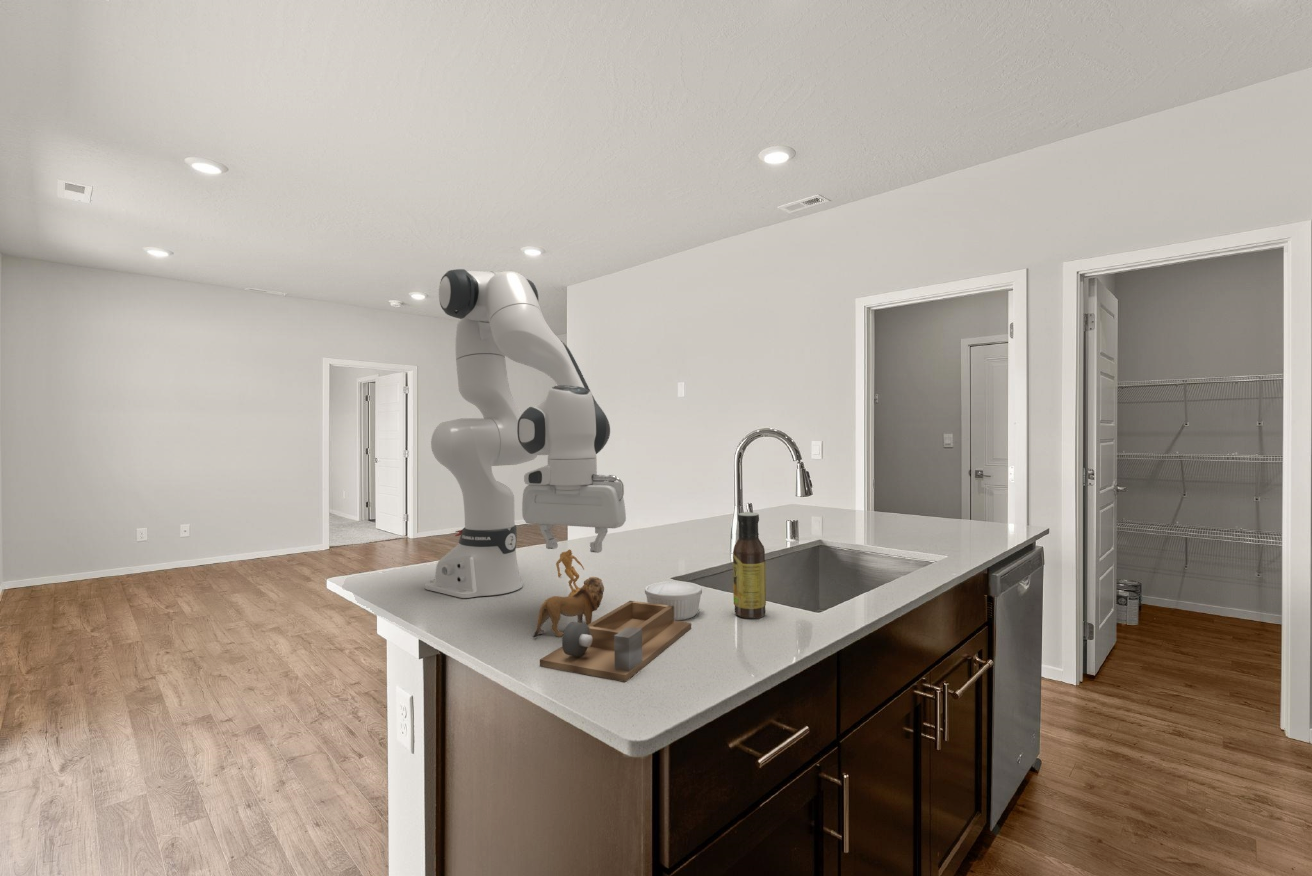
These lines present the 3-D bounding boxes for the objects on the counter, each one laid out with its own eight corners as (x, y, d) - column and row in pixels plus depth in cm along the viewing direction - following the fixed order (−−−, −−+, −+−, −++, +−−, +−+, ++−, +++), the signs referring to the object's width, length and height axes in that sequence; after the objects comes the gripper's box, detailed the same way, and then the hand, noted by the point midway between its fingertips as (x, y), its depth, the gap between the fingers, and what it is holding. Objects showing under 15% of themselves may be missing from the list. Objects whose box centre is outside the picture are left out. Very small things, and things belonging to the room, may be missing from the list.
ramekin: (637, 609, 126) (637, 583, 126) (687, 603, 130) (687, 578, 130) (657, 625, 116) (657, 597, 116) (711, 618, 120) (711, 591, 120)
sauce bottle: (739, 608, 126) (738, 510, 125) (769, 612, 123) (769, 511, 123) (729, 617, 120) (728, 514, 120) (760, 621, 117) (760, 516, 117)
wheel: (562, 659, 96) (561, 627, 96) (579, 648, 100) (579, 617, 100) (581, 662, 94) (580, 629, 94) (597, 651, 99) (597, 620, 99)
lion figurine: (594, 619, 120) (594, 572, 119) (610, 626, 116) (610, 577, 115) (525, 636, 110) (525, 585, 110) (540, 644, 106) (540, 591, 106)
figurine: (573, 616, 122) (572, 554, 121) (548, 611, 124) (548, 552, 124) (597, 605, 129) (596, 547, 129) (573, 601, 132) (572, 544, 132)
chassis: (539, 665, 96) (539, 627, 96) (618, 618, 120) (618, 587, 120) (625, 681, 90) (625, 640, 90) (691, 628, 114) (691, 595, 114)
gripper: (631, 474, 112) (632, 550, 112) (536, 472, 120) (538, 543, 120) (614, 476, 106) (615, 557, 106) (516, 474, 114) (517, 549, 115)
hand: (573, 550), depth 113 cm, fingers open, 8 cm apart
